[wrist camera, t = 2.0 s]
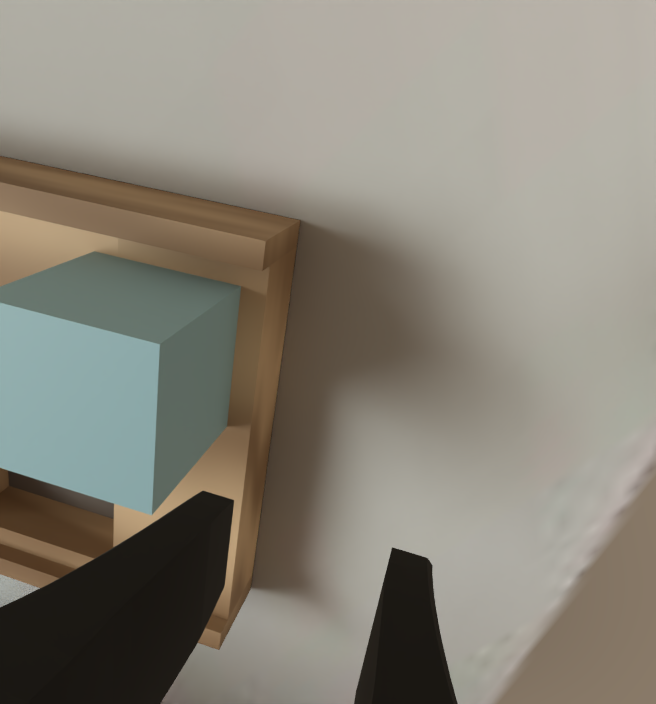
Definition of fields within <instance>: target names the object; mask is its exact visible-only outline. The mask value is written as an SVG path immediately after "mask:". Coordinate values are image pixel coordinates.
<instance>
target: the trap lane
mask: <svg viewBox="0 0 656 704" xmlns="http://www.w3.org/2000/svg"><path fill="white" fill-rule="evenodd" d="M299 227H300V220H297V219H292V218H287V217H283V216H278V215H273V214H269V213H264V212H259V211H255V210H250V209H245V208H241V207H236V206H231V205H227V204H222V203H217V202H213V201H208V200H203V199H199V198H194V197H189V196H185V195H180V194H175V193H171V192H166V191H161V190H157V189H152V188H147V187H143V186H138V185H133V184H129V183H124V182H119V181H115V180H110V179H105V178H101V177H96V176H91V175H87V174H82V173H77V172H73V171H68V170H63V169H59V168H54V167H49V166H44V165H40V164H35V163H30V162H26V161H21V160H16V159H12V158H7V157H2V156H0V286H3V285H6V284H8V283H11V282H14V281H16V280H19V279H22V278H24V277H27V276H30V275H32V274H35V273H38V272H40V271H43V270H46V269H48V268H51V267H54V266H56V265H59V264H62V263H64V262H67V261H70V260H72V259H75V258H78V257H80V256H83V255H86V254H88V253H91V252H94V251H95V252H99V253H104V254H108V255H112V256H116V257H120V258H125V259H129V260H133V261H137V262H141V263H146V264H150V265H154V266H158V267H163V268H167V269H171V270H175V271H179V272H184V273H188V274H192V275H196V276H201V277H205V278H209V279H213V280H217V281H222V282H226V283H230V284H234V285H238V286H241V292H240V302H239V312H238V322H237V332H236V342H235V352H234V361H233V371H232V381H231V391H230V401H229V411H228V421H227V427H226V428H225V429H224V431H223V432H222V433H221V434H220V435H219V437H218V438H217V439H216V440H215V441H214V442H213V444H212V445H211V446H210V447H209V448H208V450H207V451H206V452H205V453H204V454H203V455H202V457H201V458H200V459H199V460H198V461H197V463H196V464H195V465H194V466H193V467H192V468H191V470H190V471H189V472H188V473H187V474H186V476H185V477H184V478H183V479H182V480H181V481H180V483H179V484H178V485H177V486H176V487H175V489H174V490H173V491H172V492H171V493H170V495H169V496H168V497H167V498H166V499H165V500H164V502H163V503H162V504H161V505H160V506H159V508H158V509H157V510H156V511H155V512H154V513H153V515H149V514H146V513H143V512H139V511H136V510H133V509H130V508H127V507H123V506H120V505H117V504H114V503H111V502H107V501H104V500H101V499H98V498H95V497H91V496H88V495H85V494H82V493H79V492H75V491H72V490H69V489H66V488H63V487H59V486H56V485H53V484H50V483H47V482H44V481H40V480H37V479H34V478H31V477H28V476H24V475H21V474H18V473H15V472H12V471H8V470H5V469H2V468H0V574H2V575H4V576H7V577H10V578H13V579H16V580H19V581H22V582H25V583H27V584H30V585H33V586H36V587H39V588H42V587H44V586H46V585H48V584H50V583H52V582H53V581H55V580H57V579H59V578H61V577H63V576H64V575H66V574H68V573H70V572H72V571H73V570H75V569H77V568H79V567H81V566H82V565H84V564H86V563H88V562H90V561H91V560H93V559H95V558H97V557H98V556H100V555H102V554H103V553H105V552H107V551H108V550H110V549H112V548H113V547H115V546H117V545H118V544H120V543H121V542H123V541H125V540H126V539H128V538H130V537H131V536H133V535H134V534H136V533H138V532H139V531H141V530H142V529H144V528H145V527H147V526H149V525H150V524H152V523H153V522H155V521H156V520H158V519H159V518H161V517H162V516H164V515H165V514H167V513H169V512H170V511H172V510H173V509H175V508H176V507H178V506H179V505H181V504H182V503H184V502H185V501H187V500H188V499H190V498H191V497H193V496H194V495H196V494H198V493H199V492H201V491H206V492H210V493H213V494H216V495H219V496H223V497H226V498H229V499H233V500H234V508H233V516H232V525H231V534H230V543H229V552H228V561H227V570H226V579H225V587H224V589H223V591H222V593H221V595H220V598H219V600H218V602H217V604H216V606H215V608H214V611H213V613H212V615H211V617H210V619H209V621H208V623H207V625H206V627H205V629H204V631H203V634H202V636H201V638H200V640H199V641H198V643H200V644H203V645H206V646H209V647H212V648H215V649H218V650H219V649H220V647H221V645H222V643H223V641H224V639H225V637H226V635H227V634H228V632H229V630H230V628H231V626H232V624H233V622H234V620H235V618H236V616H237V614H238V612H239V610H240V608H241V607H242V605H243V603H244V601H245V599H246V597H247V595H248V593H249V591H250V589H251V581H252V574H253V567H254V559H255V552H256V545H257V537H258V530H259V522H260V515H261V508H262V500H263V493H264V485H265V478H266V471H267V463H268V456H269V449H270V441H271V434H272V426H273V419H274V412H275V404H276V397H277V389H278V382H279V375H280V367H281V360H282V353H283V345H284V338H285V330H286V323H287V316H288V308H289V301H290V293H291V286H292V279H293V271H294V264H295V257H296V249H297V242H298V234H299Z"/></svg>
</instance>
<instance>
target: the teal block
mask: <svg viewBox="0 0 656 704" xmlns="http://www.w3.org/2000/svg"><path fill="white" fill-rule="evenodd" d="M240 292H241V286H238V285H234V284H230V283H226V282H222V281H217V280H213V279H209V278H205V277H201V276H196V275H192V274H188V273H184V272H179V271H175V270H171V269H167V268H163V267H158V266H154V265H150V264H146V263H141V262H137V261H133V260H129V259H125V258H120V257H116V256H112V255H108V254H104V253H99V252H95V251H94V252H91V253H88V254H86V255H83V256H80V257H78V258H75V259H72V260H70V261H67V262H64V263H62V264H59V265H56V266H54V267H51V268H48V269H46V270H43V271H40V272H38V273H35V274H32V275H30V276H27V277H24V278H22V279H19V280H16V281H14V282H11V283H8V284H6V285H3V286H0V468H2V469H5V470H8V471H12V472H15V473H18V474H21V475H24V476H28V477H31V478H34V479H37V480H40V481H44V482H47V483H50V484H53V485H56V486H59V487H63V488H66V489H69V490H72V491H75V492H79V493H82V494H85V495H88V496H91V497H95V498H98V499H101V500H104V501H107V502H111V503H114V504H117V505H120V506H123V507H127V508H130V509H133V510H136V511H139V512H143V513H146V514H149V515H153V513H154V512H155V511H156V510H157V509H158V508H159V506H160V505H161V504H162V503H163V502H164V500H165V499H166V498H167V497H168V496H169V495H170V493H171V492H172V491H173V490H174V489H175V487H176V486H177V485H178V484H179V483H180V481H181V480H182V479H183V478H184V477H185V476H186V474H187V473H188V472H189V471H190V470H191V468H192V467H193V466H194V465H195V464H196V463H197V461H198V460H199V459H200V458H201V457H202V455H203V454H204V453H205V452H206V451H207V450H208V448H209V447H210V446H211V445H212V444H213V442H214V441H215V440H216V439H217V438H218V437H219V435H220V434H221V433H222V432H223V431H224V429H225V428H226V427H227V421H228V411H229V401H230V391H231V381H232V371H233V361H234V352H235V342H236V332H237V322H238V312H239V302H240Z"/></svg>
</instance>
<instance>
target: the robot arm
mask: <svg viewBox="0 0 656 704" xmlns="http://www.w3.org/2000/svg"><path fill="white" fill-rule="evenodd" d="M233 508H234V500H233V499H229V498H226V497H223V496H219V495H216V494H213V493H210V492H206V491H201V492H199V493H198V494H196V495H194V496H193V497H191V498H190V499H188V500H187V501H185V502H184V503H182V504H181V505H179V506H178V507H176V508H175V509H173V510H172V511H170V512H169V513H167V514H165V515H164V516H162V517H161V518H159V519H158V520H156V521H155V522H153V523H152V524H150V525H149V526H147V527H145V528H144V529H142V530H141V531H139V532H138V533H136V534H134V535H133V536H131V537H130V538H128V539H126V540H125V541H123V542H121V543H120V544H118V545H117V546H115V547H113V548H112V549H110V550H108V551H107V552H105V553H103V554H102V555H100V556H98V557H97V558H95V559H93V560H91V561H90V562H88V563H86V564H84V565H82V566H81V567H79V568H77V569H75V570H73V571H72V572H70V573H68V574H66V575H64V576H63V577H61V578H59V579H57V580H55V581H53V582H52V583H50V584H48V585H46V586H44V587H42V588H40V589H38V590H36V591H34V592H32V593H30V594H28V595H26V596H24V597H22V598H20V599H18V600H16V601H13V602H11V603H9V604H7V605H5V606H3V607H0V704H160V703H161V701H162V700H163V698H164V696H165V695H166V693H167V692H168V690H169V688H170V687H171V685H172V684H173V682H174V680H175V679H176V677H177V676H178V674H179V672H180V671H181V669H182V667H183V666H184V664H185V663H186V661H187V659H188V658H189V656H190V654H191V653H192V651H193V649H194V648H195V646H196V644H197V643H198V641H199V640H200V638H201V636H202V634H203V631H204V629H205V627H206V625H207V623H208V621H209V619H210V617H211V615H212V613H213V611H214V608H215V606H216V604H217V602H218V600H219V598H220V595H221V593H222V591H223V589H224V587H225V579H226V570H227V561H228V552H229V543H230V534H231V525H232V516H233ZM354 704H458V703H457V700H456V697H455V693H454V689H453V685H452V682H451V678H450V674H449V670H448V665H447V661H446V657H445V653H444V648H443V644H442V640H441V635H440V630H439V624H438V618H437V612H436V606H435V599H434V591H433V578H432V564H431V563H430V561H429V560H428V558H425V557H422V556H419V555H416V554H412V553H409V552H406V551H402V550H399V549H396V548H392V551H391V554H390V558H389V562H388V566H387V570H386V574H385V578H384V582H383V586H382V590H381V594H380V598H379V602H378V606H377V610H376V614H375V618H374V622H373V626H372V630H371V634H370V638H369V642H368V646H367V650H366V654H365V658H364V662H363V666H362V670H361V674H360V678H359V682H358V686H357V690H356V696H355V702H354Z"/></svg>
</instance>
